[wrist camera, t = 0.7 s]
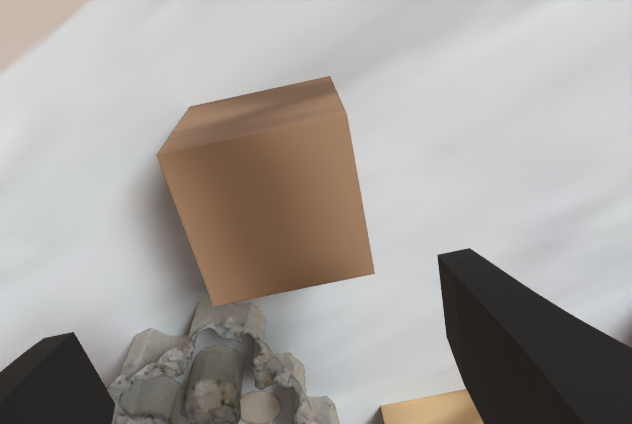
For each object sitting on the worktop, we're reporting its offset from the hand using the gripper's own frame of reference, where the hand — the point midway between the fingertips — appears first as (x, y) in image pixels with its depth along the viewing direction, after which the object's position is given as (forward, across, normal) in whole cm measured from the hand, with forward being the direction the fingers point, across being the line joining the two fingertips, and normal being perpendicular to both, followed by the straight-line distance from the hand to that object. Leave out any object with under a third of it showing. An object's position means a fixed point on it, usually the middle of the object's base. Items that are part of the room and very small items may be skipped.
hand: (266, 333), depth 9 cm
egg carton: (+10, +5, +11) cm, 15 cm away
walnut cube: (+10, 0, 0) cm, 10 cm away
